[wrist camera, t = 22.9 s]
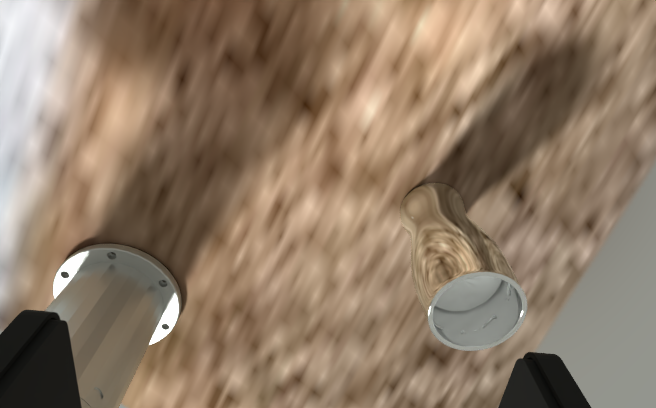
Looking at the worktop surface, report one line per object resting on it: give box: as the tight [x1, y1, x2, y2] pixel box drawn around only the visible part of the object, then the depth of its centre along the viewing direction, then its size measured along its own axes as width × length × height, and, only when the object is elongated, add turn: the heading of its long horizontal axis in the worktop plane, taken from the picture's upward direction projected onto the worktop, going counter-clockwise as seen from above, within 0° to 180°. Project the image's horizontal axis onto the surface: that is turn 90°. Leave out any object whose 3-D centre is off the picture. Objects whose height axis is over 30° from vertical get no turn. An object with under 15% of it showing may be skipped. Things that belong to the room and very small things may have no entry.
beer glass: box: [400, 183, 527, 351], centre depth 38 cm, size 7×7×15 cm
